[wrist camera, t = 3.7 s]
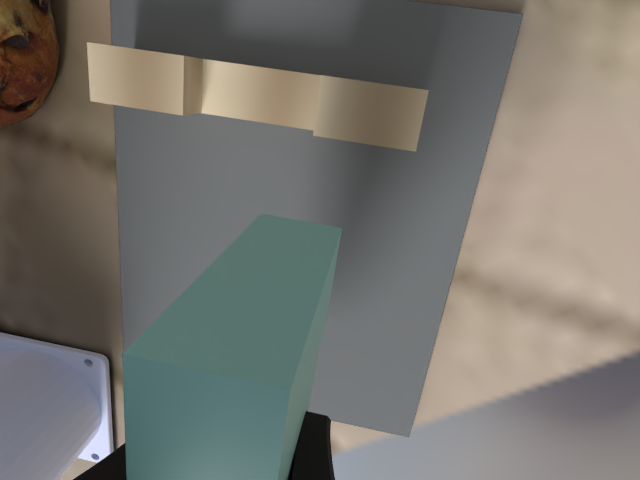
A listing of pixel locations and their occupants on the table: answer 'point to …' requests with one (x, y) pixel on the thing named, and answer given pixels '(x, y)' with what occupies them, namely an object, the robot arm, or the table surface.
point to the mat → (317, 175)
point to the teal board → (232, 360)
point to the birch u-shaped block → (257, 95)
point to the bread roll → (26, 57)
